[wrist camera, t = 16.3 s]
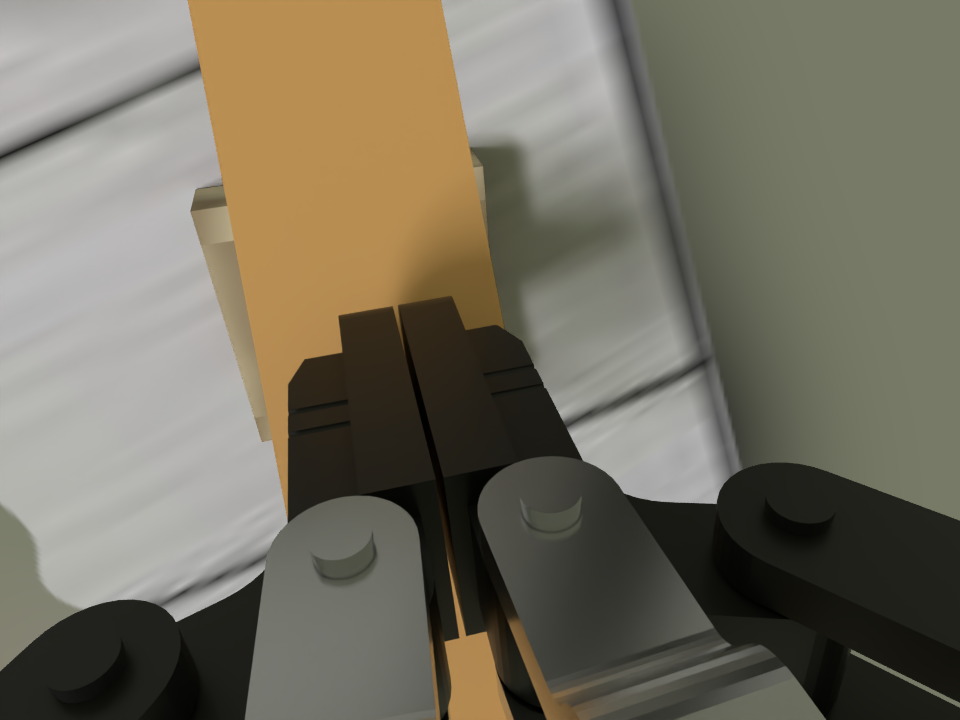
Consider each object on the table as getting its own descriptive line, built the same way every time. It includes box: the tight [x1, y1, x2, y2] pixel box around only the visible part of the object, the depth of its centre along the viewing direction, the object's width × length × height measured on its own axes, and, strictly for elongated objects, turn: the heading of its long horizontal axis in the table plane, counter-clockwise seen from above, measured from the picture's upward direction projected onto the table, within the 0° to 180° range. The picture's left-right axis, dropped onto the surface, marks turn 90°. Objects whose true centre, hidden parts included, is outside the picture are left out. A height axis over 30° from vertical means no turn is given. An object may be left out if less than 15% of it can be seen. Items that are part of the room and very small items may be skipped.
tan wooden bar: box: [188, 0, 507, 720], centre depth 11 cm, size 4×26×2 cm
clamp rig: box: [190, 148, 489, 442], centre depth 25 cm, size 12×30×20 cm, turn 5°
